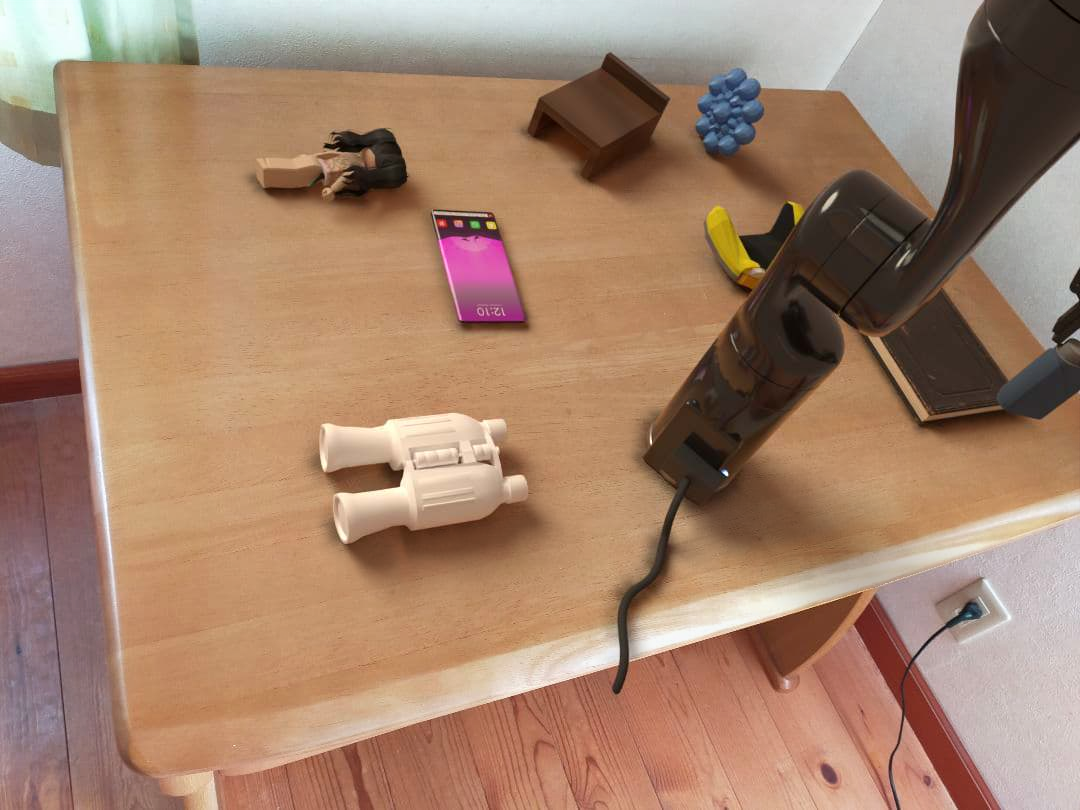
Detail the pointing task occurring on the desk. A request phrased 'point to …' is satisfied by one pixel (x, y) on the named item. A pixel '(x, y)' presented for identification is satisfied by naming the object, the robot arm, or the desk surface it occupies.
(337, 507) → the binoculars
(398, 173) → the toy figure
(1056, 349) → the vaping device
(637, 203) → the desk surface
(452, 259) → the smartphone
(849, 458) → the desk surface
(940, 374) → the hardcover book
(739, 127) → the grapes
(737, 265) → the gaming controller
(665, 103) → the shelf
